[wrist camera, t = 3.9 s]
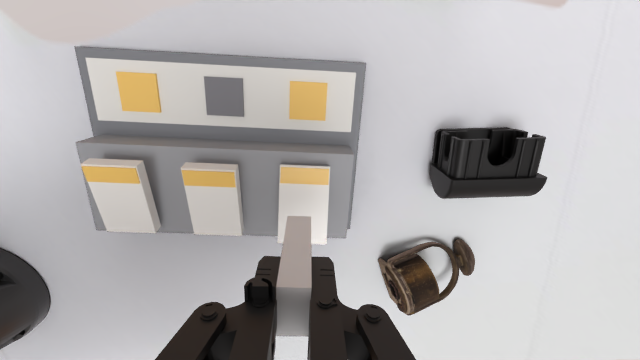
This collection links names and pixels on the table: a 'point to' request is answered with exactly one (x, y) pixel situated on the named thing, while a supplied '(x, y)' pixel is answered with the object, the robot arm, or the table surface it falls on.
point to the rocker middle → (214, 198)
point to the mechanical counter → (422, 276)
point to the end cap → (486, 163)
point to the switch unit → (224, 125)
